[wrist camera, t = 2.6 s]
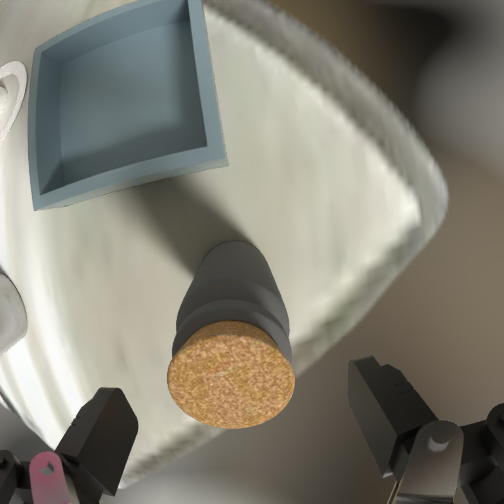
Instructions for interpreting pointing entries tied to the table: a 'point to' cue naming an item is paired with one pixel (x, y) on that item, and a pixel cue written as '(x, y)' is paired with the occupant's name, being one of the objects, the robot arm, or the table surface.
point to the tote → (123, 103)
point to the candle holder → (20, 73)
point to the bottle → (232, 342)
